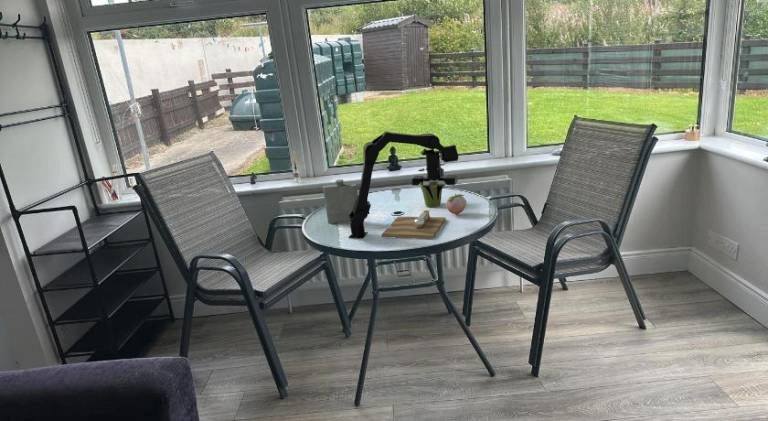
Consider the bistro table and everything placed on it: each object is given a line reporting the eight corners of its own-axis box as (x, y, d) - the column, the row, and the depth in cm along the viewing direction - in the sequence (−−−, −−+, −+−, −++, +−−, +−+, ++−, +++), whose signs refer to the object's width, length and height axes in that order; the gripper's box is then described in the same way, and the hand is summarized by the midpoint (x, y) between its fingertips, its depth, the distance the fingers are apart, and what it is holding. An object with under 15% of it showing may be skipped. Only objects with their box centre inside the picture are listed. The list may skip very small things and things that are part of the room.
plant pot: (419, 209, 241) (417, 186, 238) (423, 202, 252) (421, 180, 249) (443, 209, 238) (442, 186, 235) (447, 201, 249) (445, 179, 246)
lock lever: (423, 228, 211) (422, 221, 210) (413, 227, 213) (413, 221, 212) (431, 216, 224) (431, 210, 223) (422, 216, 225) (422, 210, 224)
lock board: (433, 239, 203) (432, 235, 203) (381, 237, 211) (381, 233, 211) (445, 220, 223) (445, 217, 222) (398, 219, 231) (397, 216, 230)
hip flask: (327, 223, 236) (321, 182, 229) (329, 220, 239) (323, 179, 233) (360, 222, 232) (355, 180, 226) (362, 219, 236) (357, 178, 230)
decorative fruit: (455, 210, 235) (454, 189, 232) (469, 213, 229) (468, 192, 226) (442, 216, 229) (441, 195, 226) (456, 219, 223) (455, 197, 220)
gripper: (459, 159, 216) (461, 194, 220) (417, 160, 222) (420, 194, 227) (453, 165, 206) (455, 202, 211) (409, 166, 212) (412, 201, 217)
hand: (435, 199), depth 217 cm, fingers closed
